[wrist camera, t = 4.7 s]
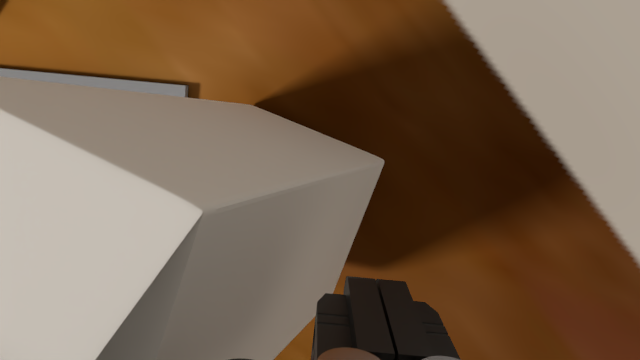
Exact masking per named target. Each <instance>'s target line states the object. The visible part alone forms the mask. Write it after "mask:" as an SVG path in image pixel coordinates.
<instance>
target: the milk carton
mask: <svg viewBox="0 0 640 360" xmlns="http://www.w3.org/2000/svg"><path fill="white" fill-rule="evenodd" d="M384 162H385V161H384V160H383V159H381V158H380V157H377V156H375V155H373V154H370V153H368V152H366V151H363V150H361V149H358V148H356V147H353V146H351V145H349V144H346V143H344V142H341V141H339V140H336V139H334V138H332V137H329V136H327V135H324V134H322V133H319V132H317V131H314V130H312V129H310V128H307V127H305V126H302V125H300V124H297V123H295V122H293V121H290V120H288V119H285V118H283V117H280V116H278V115H275V114H273V113H271V112H268V111H266V110H263V109H261V108H258V107H256V106H252V105H248V104H240V103H231V102H222V101H213V100H204V99H196V98H187V97H178V96H169V95H160V94H151V93H142V92H133V91H124V90H115V89H106V88H98V87H89V86H80V85H71V84H62V83H53V82H44V81H35V80H26V79H17V78H8V77H0V360H229V359H237V358H242V359H252V360H273V359H274V358H275V357H276V356H277V355H278V354H279V353H280V352H281V351H282V350H283V349H284V348H285V347H286V346H287V345H288V344H289V343H290V342H291V341H292V340H293V339H294V337H295V336H296V335H297V334H298V333H299V332H300V331H301V330H302V329H303V328H304V327H305V326H306V325H307V324H308V323H309V322H310V321H311V320H312V319H313V318H314V317H315V316H316V309H317V302H318V301H319V299H320V298H321V297H322V296H323V295H324V294H325V293H329V294H333V291H334V289H335V286H336V284H337V281H338V279H339V276H340V274H341V271H342V269H343V266H344V264H345V261H346V259H347V256H348V254H349V251H350V249H351V246H352V244H353V241H354V239H355V236H356V234H357V231H358V228H359V226H360V223H361V221H362V218H363V216H364V213H365V211H366V208H367V206H368V203H369V201H370V198H371V196H372V193H373V191H374V188H375V186H376V183H377V181H378V178H379V176H380V173H381V171H382V168H383V166H384Z"/></svg>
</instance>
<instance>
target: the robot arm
mask: <svg viewBox="0 0 640 360" xmlns="http://www.w3.org/2000/svg"><path fill="white" fill-rule="evenodd" d="M229 360H252V359H242V358H237V359H229ZM311 360H460V358H459V356H458V354H457V352H456V349H455V347H454V345H453V343H452V341H451V339H450V337H449V336H448V333H447V331H446V329H445V327H444V326H443V323H442V320H441V318H440V316H439V314H438V313H437V312H436V311H435V310H434V309H433V308H431V307H430V306H429V305H428V304H426V303H425V302H417V301H413V299H412V297H411V294H410V292H409V289H408V287H407V284H406V282H404V281H393V280H382V279H377V280H376V281H375V279H370V278H360V277H349V276H347V277H346V281H345V287H344V295H340V294H329V293H325V294H324V295H323V296H322V297H321V298H320V299H319V301H318V302H317V309H316V318H315V327H314V336H313V346H312V355H311Z"/></svg>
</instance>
